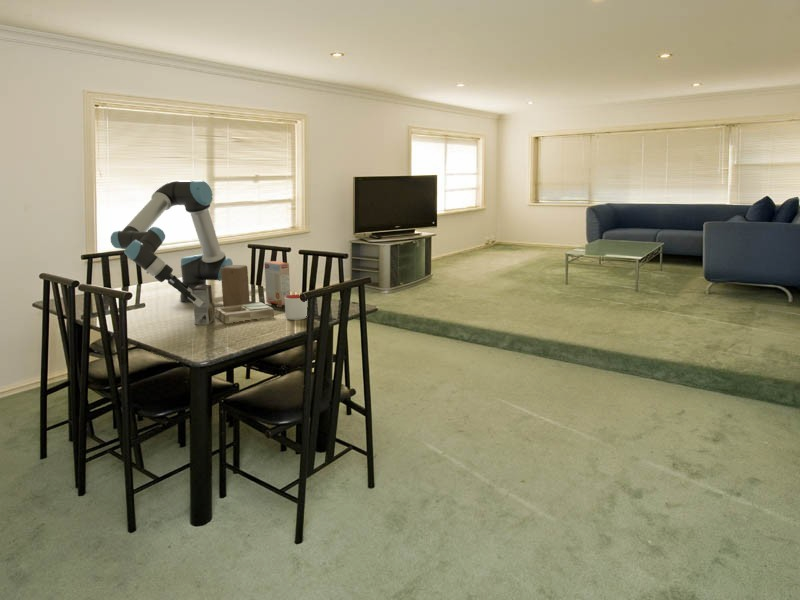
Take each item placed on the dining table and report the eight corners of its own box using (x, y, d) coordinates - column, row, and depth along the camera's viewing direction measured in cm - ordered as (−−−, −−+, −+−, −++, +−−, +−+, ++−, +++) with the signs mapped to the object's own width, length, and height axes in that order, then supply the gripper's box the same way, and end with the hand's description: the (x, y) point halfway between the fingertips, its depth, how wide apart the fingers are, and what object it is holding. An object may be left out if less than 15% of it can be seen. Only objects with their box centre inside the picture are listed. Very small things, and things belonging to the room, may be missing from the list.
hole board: (215, 316, 270) (214, 307, 269) (261, 310, 281) (261, 301, 280) (225, 323, 256) (225, 314, 255) (274, 317, 267) (273, 307, 266)
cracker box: (291, 304, 295) (289, 262, 290) (281, 305, 291) (279, 264, 286) (276, 300, 305) (274, 260, 300) (266, 301, 300) (263, 261, 296)
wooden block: (241, 308, 286) (238, 268, 281) (222, 307, 288) (219, 267, 283) (250, 304, 295) (248, 265, 291) (232, 303, 297) (229, 264, 293)
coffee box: (199, 319, 263) (196, 284, 260) (214, 319, 264) (211, 284, 261) (194, 324, 254) (191, 288, 251) (209, 324, 255) (206, 288, 252)
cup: (296, 314, 272) (295, 293, 270) (312, 317, 266) (311, 295, 264) (280, 318, 264) (279, 297, 262) (297, 321, 258) (295, 299, 256)
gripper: (152, 272, 258) (191, 302, 267) (154, 281, 235) (196, 313, 244) (164, 259, 259) (202, 290, 268) (167, 267, 236) (208, 300, 245)
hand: (199, 301), depth 256 cm, fingers open, 13 cm apart
